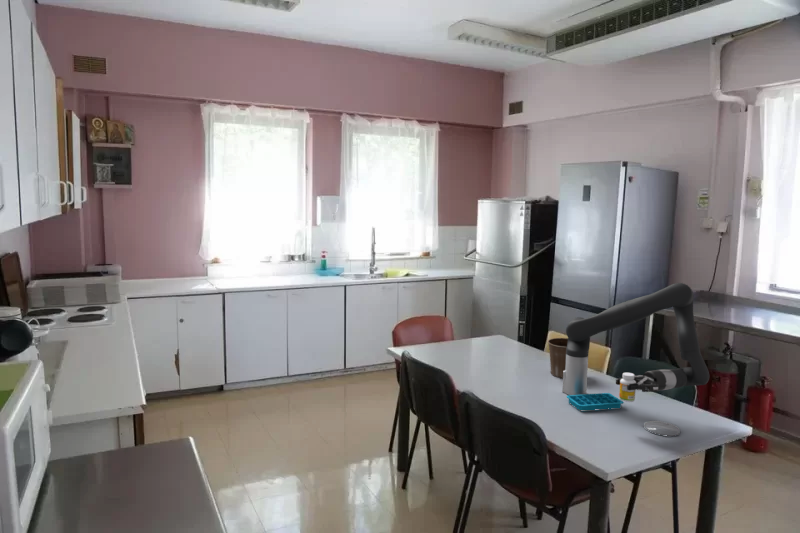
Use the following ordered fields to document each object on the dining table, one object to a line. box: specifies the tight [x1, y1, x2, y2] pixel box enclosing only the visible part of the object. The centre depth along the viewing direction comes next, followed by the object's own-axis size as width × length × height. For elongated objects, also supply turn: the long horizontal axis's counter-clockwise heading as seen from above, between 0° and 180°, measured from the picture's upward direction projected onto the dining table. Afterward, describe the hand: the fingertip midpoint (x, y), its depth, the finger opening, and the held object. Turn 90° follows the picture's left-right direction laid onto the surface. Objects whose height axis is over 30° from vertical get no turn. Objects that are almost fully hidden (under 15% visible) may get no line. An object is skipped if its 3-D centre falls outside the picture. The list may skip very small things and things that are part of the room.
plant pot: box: [547, 337, 568, 379], centre depth 262 cm, size 16×16×16 cm
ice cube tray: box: [566, 392, 625, 411], centre depth 224 cm, size 12×20×3 cm, turn 101°
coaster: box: [643, 420, 681, 437], centre depth 201 cm, size 12×12×1 cm
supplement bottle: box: [618, 372, 637, 403], centre depth 199 cm, size 5×5×10 cm
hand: (622, 384), depth 198 cm, fingers closed on supplement bottle, 5 cm apart
